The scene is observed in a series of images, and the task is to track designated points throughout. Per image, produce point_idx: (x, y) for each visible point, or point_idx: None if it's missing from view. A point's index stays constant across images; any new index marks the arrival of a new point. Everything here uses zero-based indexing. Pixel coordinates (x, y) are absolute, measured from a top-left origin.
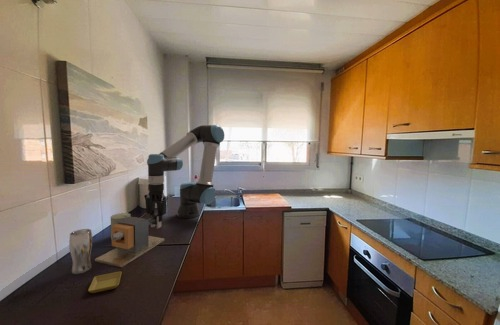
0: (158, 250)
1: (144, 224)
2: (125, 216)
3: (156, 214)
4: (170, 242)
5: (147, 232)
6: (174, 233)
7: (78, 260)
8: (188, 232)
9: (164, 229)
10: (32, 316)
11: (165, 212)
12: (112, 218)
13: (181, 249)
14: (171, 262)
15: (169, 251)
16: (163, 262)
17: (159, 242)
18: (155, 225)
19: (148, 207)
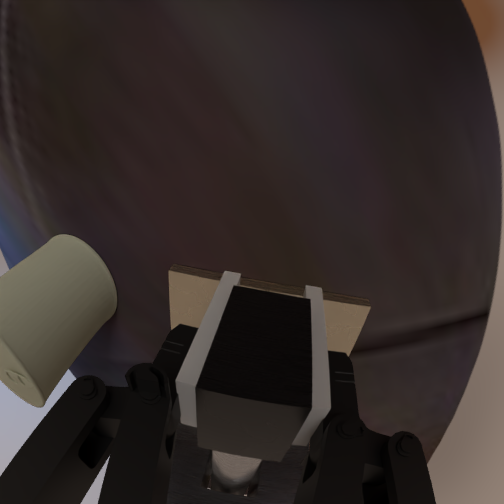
0: (371, 386)
1: None
2: (27, 386)
3: (265, 444)
4: (412, 314)
5: (305, 455)
6: (399, 166)
7: None
8: (488, 139)
9: (259, 88)
10: (246, 493)
11: (417, 461)
12: (19, 395)
13: (467, 358)
14: (432, 420)
15: (420, 382)
16: (408, 426)
17: (352, 343)
18: (240, 275)
19: (86, 483)
